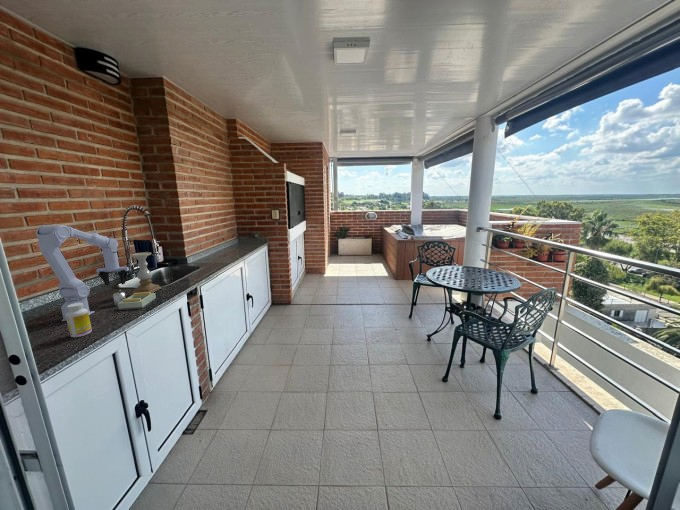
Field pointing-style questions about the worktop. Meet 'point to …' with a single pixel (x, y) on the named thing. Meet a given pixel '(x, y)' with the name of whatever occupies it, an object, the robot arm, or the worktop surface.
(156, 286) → the candle holder
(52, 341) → the worktop surface
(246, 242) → the worktop surface
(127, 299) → the pale green tray
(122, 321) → the worktop surface
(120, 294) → the spout can
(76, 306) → the supplement bottle
